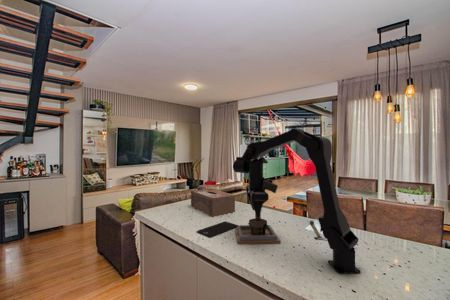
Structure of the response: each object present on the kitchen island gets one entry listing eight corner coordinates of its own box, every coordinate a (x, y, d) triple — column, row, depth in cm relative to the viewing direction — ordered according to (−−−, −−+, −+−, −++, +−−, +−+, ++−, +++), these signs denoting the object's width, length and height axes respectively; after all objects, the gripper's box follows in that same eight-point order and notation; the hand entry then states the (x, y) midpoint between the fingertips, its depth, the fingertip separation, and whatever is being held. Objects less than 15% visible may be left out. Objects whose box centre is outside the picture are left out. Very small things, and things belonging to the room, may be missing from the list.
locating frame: (277, 240, 83) (277, 236, 83) (240, 240, 82) (240, 236, 82) (269, 228, 95) (269, 225, 95) (237, 228, 94) (237, 225, 94)
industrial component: (270, 233, 89) (270, 204, 89) (262, 239, 83) (262, 207, 83) (250, 228, 95) (250, 200, 95) (241, 233, 89) (241, 204, 89)
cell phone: (196, 233, 93) (196, 231, 93) (225, 223, 106) (225, 221, 106) (209, 239, 87) (209, 236, 87) (239, 227, 100) (239, 225, 100)
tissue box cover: (190, 206, 135) (190, 190, 135) (211, 203, 144) (211, 188, 144) (212, 217, 114) (212, 198, 114) (234, 213, 123) (234, 195, 122)
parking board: (280, 243, 82) (280, 241, 82) (237, 244, 81) (237, 241, 81) (271, 229, 96) (271, 227, 96) (234, 230, 95) (234, 228, 95)
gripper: (282, 177, 79) (282, 220, 79) (270, 171, 98) (270, 206, 98) (251, 177, 79) (251, 220, 79) (245, 172, 98) (245, 207, 98)
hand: (256, 213), depth 89 cm, fingers open, 9 cm apart
